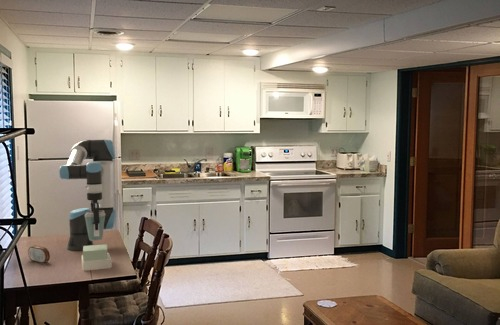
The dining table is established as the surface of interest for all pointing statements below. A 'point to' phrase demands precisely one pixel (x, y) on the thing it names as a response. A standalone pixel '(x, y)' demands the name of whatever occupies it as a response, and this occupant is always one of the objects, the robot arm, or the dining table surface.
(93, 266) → the base block
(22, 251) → the dining table surface
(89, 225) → the disposable coffee cup
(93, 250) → the top block
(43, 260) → the tin
